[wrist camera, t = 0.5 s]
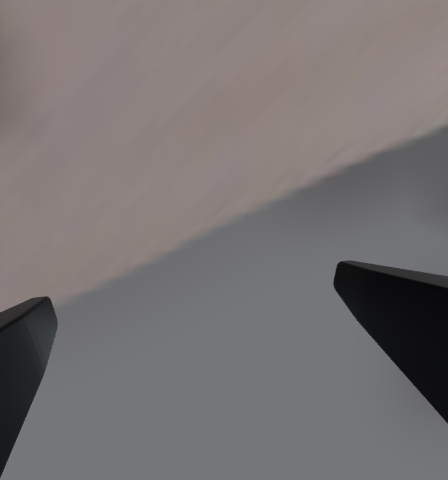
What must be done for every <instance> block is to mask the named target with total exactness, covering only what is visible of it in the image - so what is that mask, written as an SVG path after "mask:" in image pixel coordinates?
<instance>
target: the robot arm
mask: <svg viewBox="0 0 448 480" xmlns="http://www.w3.org/2000/svg"><path fill="white" fill-rule="evenodd" d="M334 288H335V290H336V292H337V293H338V295H339V296H340V297H341V299H342V300H343V301H344V303H345V304H346V306H347V307H348V309H349V310H350V311H351V313H352V314H353V316H354V317H355V318H356V319H357V321H358V322H359V323H360V324H361V326H362V327H363V328H364V329H365V330H366V331H367V332H368V334H369V335H370V336H371V337H372V338H373V339H374V340H375V341H376V343H377V344H378V345H379V346H380V347H381V348H382V349H383V350H384V351H385V353H386V354H387V355H388V356H389V357H390V358H391V360H392V361H393V362H394V363H395V364H396V365H397V366H398V367H399V369H400V370H401V371H402V372H403V373H404V374H405V376H406V377H407V378H408V379H409V380H410V381H411V382H412V383H413V385H414V386H415V387H416V388H417V389H418V390H419V391H420V393H421V394H422V395H423V396H424V397H425V398H426V399H427V400H428V402H429V403H430V404H431V405H432V406H433V407H434V408H435V410H436V411H437V412H438V413H439V414H440V415H441V416H442V418H444V420H445V421H446V422H447V423H448V276H443V275H436V274H430V273H424V272H418V271H412V270H406V269H400V268H394V267H387V266H381V265H374V264H369V263H363V262H357V261H341V262H339V263H338V264H337V268H336V273H335V277H334ZM56 330H57V317H56V314H55V311H54V308H53V305H52V302H51V300H50V298H49V297H46V296H45V297H36V298H31V299H29V300H27V301H25V302H23V303H20V304H18V305H16V306H14V307H12V308H9V309H7V310H5V311H3V312H1V313H0V477H1V475H2V472H3V470H4V468H5V465H6V463H7V461H8V458H9V456H10V453H11V451H12V449H13V446H14V444H15V442H16V439H17V437H18V435H19V432H20V430H21V428H22V425H23V423H24V420H25V418H26V416H27V413H28V411H29V408H30V406H31V404H32V402H33V399H34V397H35V395H36V392H37V390H38V387H39V385H40V383H41V380H42V378H43V375H44V373H45V370H46V366H47V363H48V359H49V356H50V352H51V349H52V345H53V342H54V338H55V334H56Z"/></svg>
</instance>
